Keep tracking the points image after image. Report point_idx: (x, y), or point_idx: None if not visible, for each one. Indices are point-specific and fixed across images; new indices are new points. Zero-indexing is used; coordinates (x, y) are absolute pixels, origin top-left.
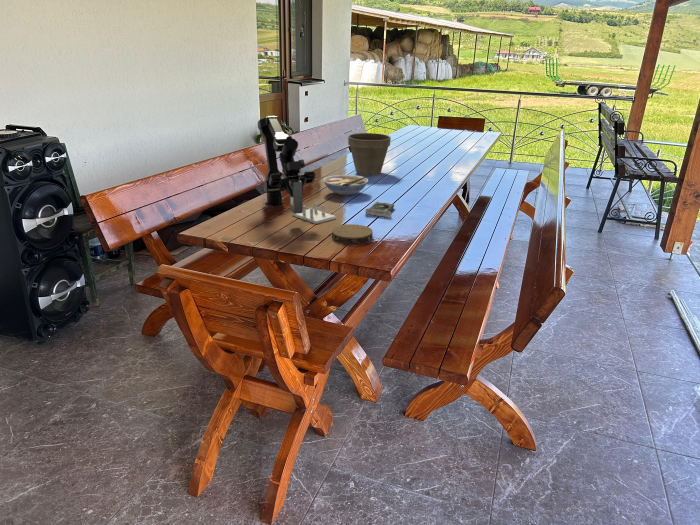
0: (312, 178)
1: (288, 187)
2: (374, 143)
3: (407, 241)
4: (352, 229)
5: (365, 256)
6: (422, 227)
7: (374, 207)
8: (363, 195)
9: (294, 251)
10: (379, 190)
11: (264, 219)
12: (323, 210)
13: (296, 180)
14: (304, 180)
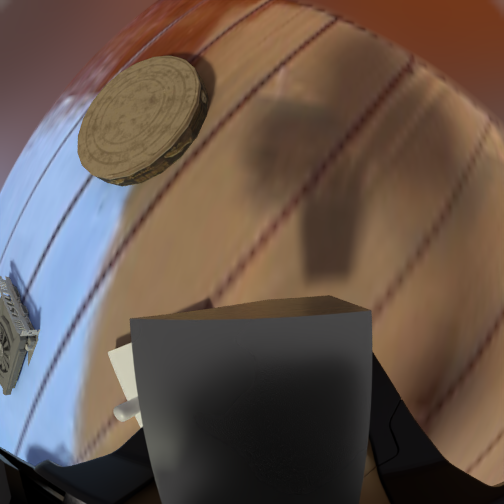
0: (28, 469)
1: (398, 417)
2: None
3: (65, 95)
4: (123, 120)
5: (187, 13)
6: (4, 186)
7: (9, 347)
8: None
9: (364, 42)
10: None
11: None
12: (134, 400)
13: (222, 485)
14: (90, 461)
